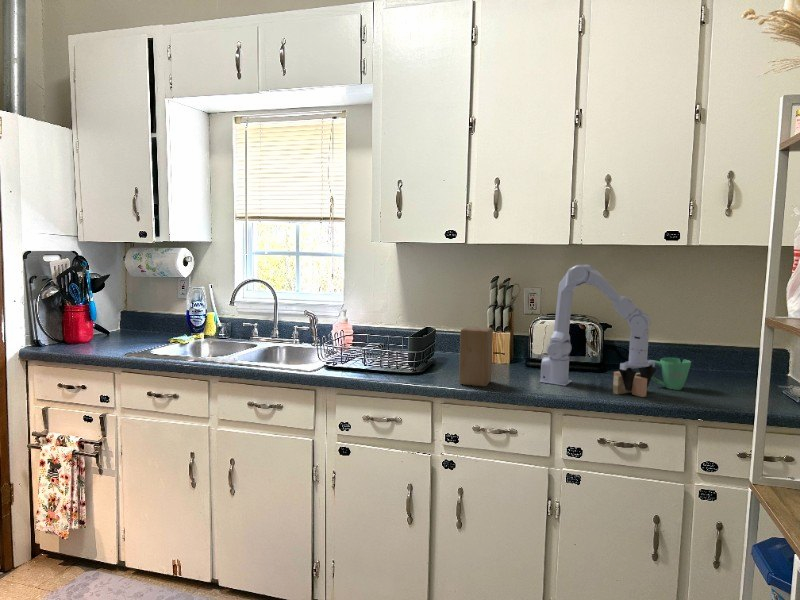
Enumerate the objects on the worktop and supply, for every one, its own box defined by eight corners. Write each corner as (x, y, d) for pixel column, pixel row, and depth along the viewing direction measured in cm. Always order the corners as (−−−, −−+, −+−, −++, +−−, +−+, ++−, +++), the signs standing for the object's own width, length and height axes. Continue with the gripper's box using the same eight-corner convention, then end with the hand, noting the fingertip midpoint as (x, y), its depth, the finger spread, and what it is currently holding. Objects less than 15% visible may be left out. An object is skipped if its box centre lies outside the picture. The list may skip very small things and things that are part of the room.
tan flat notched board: (646, 396, 188) (647, 378, 188) (641, 397, 187) (642, 379, 187) (617, 388, 199) (618, 371, 199) (612, 388, 198) (613, 371, 197)
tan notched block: (617, 394, 190) (618, 376, 190) (613, 393, 192) (613, 375, 191) (642, 390, 196) (643, 373, 195) (637, 389, 197) (638, 372, 197)
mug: (686, 386, 203) (688, 358, 202) (691, 392, 194) (693, 364, 193) (642, 382, 208) (644, 355, 207) (645, 389, 198) (647, 360, 197)
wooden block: (458, 384, 200) (459, 329, 198) (465, 378, 210) (466, 325, 208) (486, 387, 197) (487, 330, 195) (491, 381, 206) (493, 327, 204)
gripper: (633, 352, 182) (630, 394, 184) (663, 349, 189) (661, 389, 190) (615, 349, 189) (613, 389, 190) (645, 346, 195) (643, 384, 196)
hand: (636, 389), depth 190 cm, fingers open, 7 cm apart
